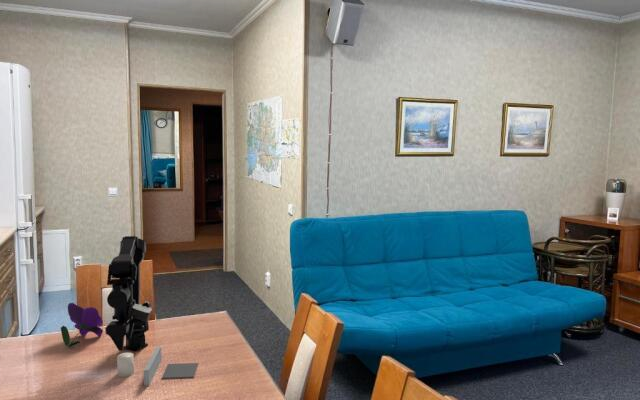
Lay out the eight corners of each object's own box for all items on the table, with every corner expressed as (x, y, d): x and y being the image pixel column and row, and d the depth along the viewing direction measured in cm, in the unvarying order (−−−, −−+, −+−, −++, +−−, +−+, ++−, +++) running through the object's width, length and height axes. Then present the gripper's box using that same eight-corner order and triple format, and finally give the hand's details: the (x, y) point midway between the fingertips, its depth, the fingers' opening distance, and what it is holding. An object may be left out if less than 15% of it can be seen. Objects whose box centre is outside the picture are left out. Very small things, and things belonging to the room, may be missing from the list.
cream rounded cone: (114, 374, 161) (113, 357, 161) (126, 368, 166) (125, 351, 165) (125, 378, 159) (125, 360, 158) (137, 371, 164) (136, 354, 163)
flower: (92, 360, 183) (112, 332, 194) (77, 333, 175) (98, 305, 186) (58, 356, 186) (79, 328, 197) (42, 329, 178) (65, 302, 189)
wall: (149, 385, 155) (148, 370, 154) (144, 385, 154) (143, 370, 154) (161, 360, 172) (161, 346, 172) (157, 360, 172) (156, 346, 172)
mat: (161, 378, 159) (161, 377, 159) (168, 365, 169) (168, 363, 169) (193, 377, 160) (193, 376, 160) (197, 364, 170) (197, 362, 170)
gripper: (141, 307, 151) (143, 356, 153) (155, 289, 170) (156, 333, 172) (103, 308, 150) (105, 357, 152) (121, 289, 169) (123, 334, 170)
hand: (124, 344), depth 161 cm, fingers open, 9 cm apart
